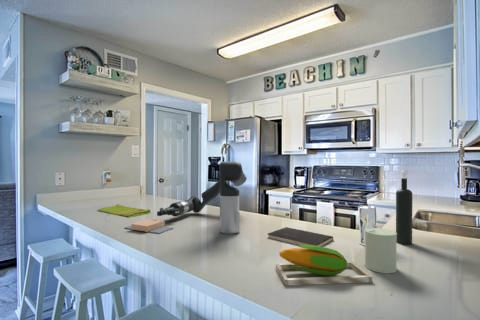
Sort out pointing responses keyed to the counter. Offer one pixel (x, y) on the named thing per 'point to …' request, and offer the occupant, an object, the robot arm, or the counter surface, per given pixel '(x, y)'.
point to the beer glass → (366, 220)
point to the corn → (315, 259)
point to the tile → (148, 225)
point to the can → (380, 250)
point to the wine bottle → (404, 212)
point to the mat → (158, 230)
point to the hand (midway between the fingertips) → (158, 213)
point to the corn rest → (323, 280)
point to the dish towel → (124, 211)
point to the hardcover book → (300, 237)
